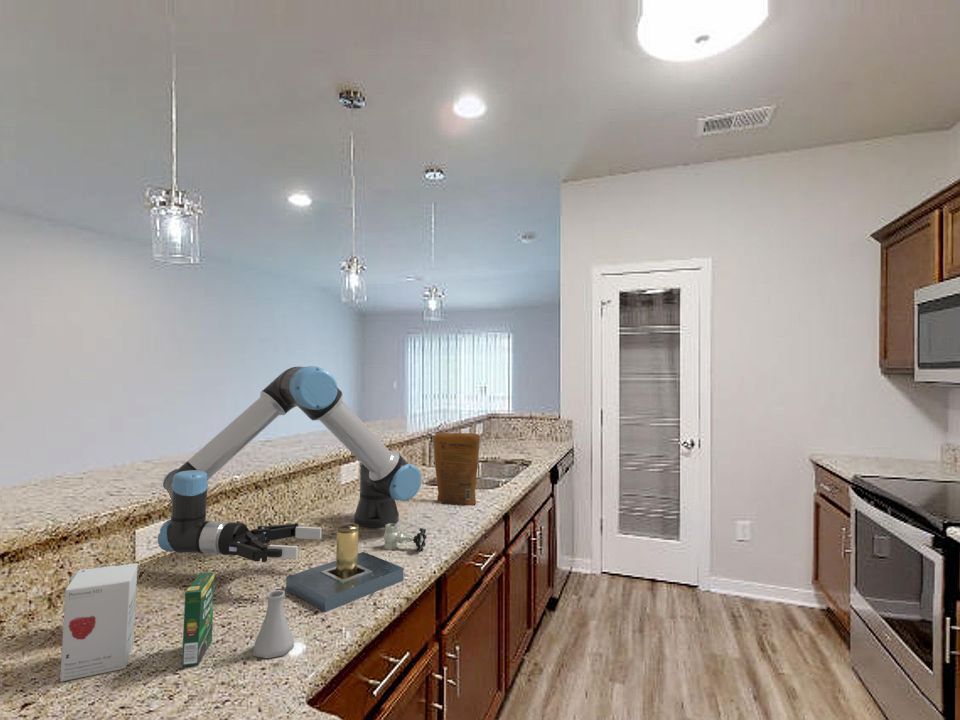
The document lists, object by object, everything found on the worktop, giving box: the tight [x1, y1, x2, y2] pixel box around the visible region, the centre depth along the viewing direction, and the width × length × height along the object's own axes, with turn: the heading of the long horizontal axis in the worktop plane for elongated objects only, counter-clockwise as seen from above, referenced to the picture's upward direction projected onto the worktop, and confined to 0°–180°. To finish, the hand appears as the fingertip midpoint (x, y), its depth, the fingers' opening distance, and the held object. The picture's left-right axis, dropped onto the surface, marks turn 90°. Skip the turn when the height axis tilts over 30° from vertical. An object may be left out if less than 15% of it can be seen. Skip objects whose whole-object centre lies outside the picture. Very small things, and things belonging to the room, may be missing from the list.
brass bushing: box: [335, 522, 360, 579], centre depth 118 cm, size 5×5×14 cm
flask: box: [252, 589, 295, 659], centre depth 91 cm, size 7×7×10 cm
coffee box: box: [181, 572, 215, 668], centre depth 88 cm, size 8×3×13 cm, turn 13°
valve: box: [383, 523, 428, 552], centre depth 143 cm, size 7×7×12 cm
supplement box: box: [59, 562, 139, 683], centre depth 85 cm, size 9×9×15 cm
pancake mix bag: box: [432, 432, 482, 506], centre depth 195 cm, size 7×19×28 cm, turn 74°
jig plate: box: [285, 551, 404, 613], centre depth 118 cm, size 22×16×3 cm
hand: (309, 542), depth 119 cm, fingers open, 13 cm apart
